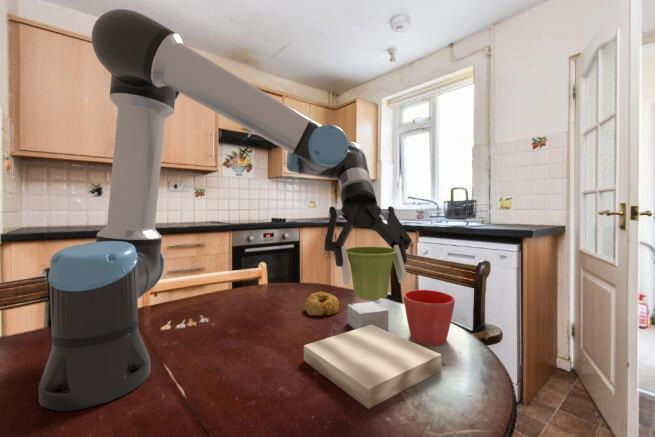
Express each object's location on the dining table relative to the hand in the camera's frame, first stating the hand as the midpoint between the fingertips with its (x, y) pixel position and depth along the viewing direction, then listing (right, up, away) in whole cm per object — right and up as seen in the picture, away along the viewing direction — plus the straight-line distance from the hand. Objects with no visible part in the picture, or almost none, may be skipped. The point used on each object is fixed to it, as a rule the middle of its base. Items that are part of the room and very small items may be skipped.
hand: (375, 279), depth 55 cm
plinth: (0, -17, +4) cm, 17 cm away
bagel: (-10, -16, +35) cm, 40 cm away
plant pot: (0, -4, +3) cm, 5 cm away
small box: (+2, -17, +23) cm, 28 cm away
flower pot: (+14, -17, +16) cm, 27 cm away
